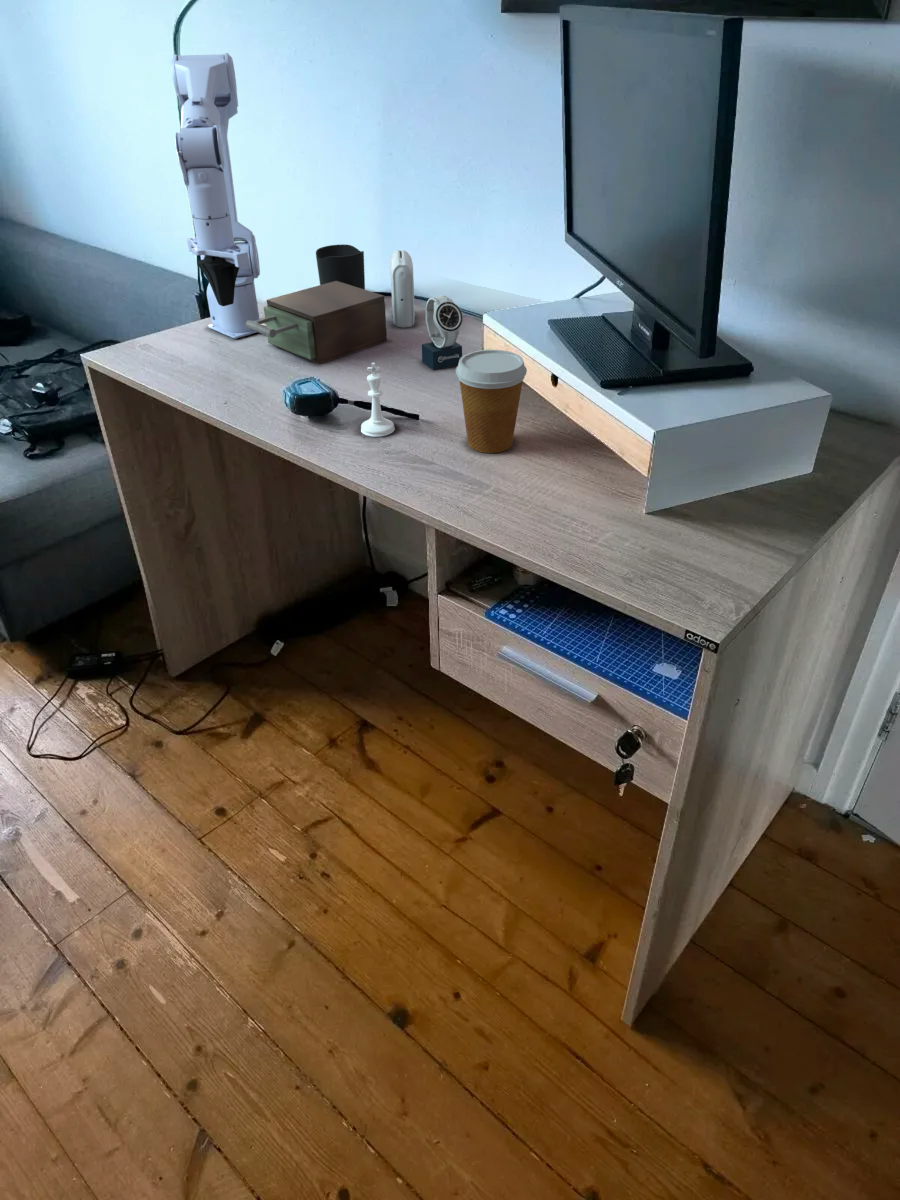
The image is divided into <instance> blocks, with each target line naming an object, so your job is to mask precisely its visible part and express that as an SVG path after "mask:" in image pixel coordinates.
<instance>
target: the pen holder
mask: <svg viewBox="0 0 900 1200" xmlns="http://www.w3.org/2000/svg"><path fill="white" fill-rule="evenodd" d="M315 258H316V265H317V266H316V267H317V273H318V279H319V285H323V284H326V283H330V282H334V281H339V282H342V283H345V284H348V285H351V286H355V287H358V288H361V289H364V290H366V278H365V252H364V250H362V251H361V250H359V249H358V248H357V247H355V246H354V245H351V244H343V243H342V244H330V245H326V246H325V245H324V246H322V247H320V248H317V249H316V251H315Z"/></svg>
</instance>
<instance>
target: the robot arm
mask: <svg viewBox="0 0 900 1200" xmlns="http://www.w3.org/2000/svg"><path fill="white" fill-rule="evenodd" d="M170 69H171V76H172V77H171V78H172V81H173V86H174V90H175V94H176V95H177V98H178V101H179V106H180V107H181V116H180V117H181V119H180V129H179V130H180V131H179V132H175V134H174V142H175V143H174V144H175V145H174V146H175V152H176V156H177V160H178V164H179V166H180V170H181V173H182V178H183V182H184V185H185V186H186V187H187V194H188V199H189V205H190V211H191V217H192V222H193V227H194V234H195V236H193V237H190V238H186V241H187V247H188V252H191V253H192V254H193V255H195V256H200V260H197V261H196V263H197V267H199V269H200V270H201V272H202V273H203V276H204V277H205V279H206V280H207V281H208V285H207V287H206V299H207V304H208V310H209V315H210V321H211V323H210V324H208V325H207V327H208V329H211V330H213V331H215V332H218V333H220V334H223V335H225V336H227V337H229V338H231V339H239V338H244V337H246V336H250V335H254V334H256V333H258V332H256V331H254V330H251V329H249V328H247V327H246V322H247V321H248V320H252V321H257V320H260V313H259V305H258V300H257V299H258V298H257V292H256V285H255V279H258V278H259V276H260V275H261V269H260V268H261V267H260V266H261V265H260V258H259V252H258V251H259V250H258V246H257V241H256V236H255V234H254V232H253V231H252V230H251V229H250V228H248V227H247V226H245V225H244V224H243V223H241V222H239V219H238V211H237V204H236V194H235V188H234V179H233V172H232V163H231V153H230V146H229V138H228V137H229V136H228V132H229V131H228V130H229V123H230V122H229V121H230V119H231V118H233V117H234V116H236V115H237V114H238V107H239V101H238V88H237V79H236V71H235V64H234V61H233V57H232V56H231V55H230V54H229V53H228V52H225V53H224V54H189V55H188V54H186V55H185V54H184V55H178V54H173V55H172V57H171V58H170ZM262 325H264V326H266V323H263V324H262Z"/></svg>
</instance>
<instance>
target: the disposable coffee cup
mask: <svg viewBox="0 0 900 1200" xmlns="http://www.w3.org/2000/svg"><path fill="white" fill-rule="evenodd" d="M527 373H528V369H527V367H526V366H525V361H524V359H523V357H522V355H521V356H520V355H519V354H518V353H515V352H513V351H509V350H502V349H480V350H474V351H469V352H468V353H465V354H464V355H462V357H461V358H460V360H459V364H458V365H456V368H455V374H456V377H457V379H458V380H459V386H460V387H459V388H460V394H461V402H462V403H461V404H462V410H463V415H464V417H463V419H464V424H465V432H466V439H467V445H468V447H469V448H470V449H471V450H473V451H476V452H479V453H483V454H484V453H485V454H495V453H501V452H505V451H506V450H509V449H510V448H511V447H512V446H513V441H514V437H515V436H514V435H515V429H516V423H517V418H518V417H517V416H518V412H519V406H520V405H519V404H520V399H521V394H522V387H523V381H524V379H525V376H526V375H527Z"/></svg>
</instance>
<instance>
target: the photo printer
mask: <svg viewBox="0 0 900 1200" xmlns="http://www.w3.org/2000/svg"><path fill="white" fill-rule="evenodd" d="M412 259H413V258H412V257H411V255H410V253H409V252H408V251H406V250H405V249H402V250H399V249H397V250H395V251H394V252H393V253H392V254H391V256H390V258H389V273H390V274H389V275H390V288H391V290H390V291H391V311H392V312H391V313H392V321H393V325H394V326H395V327H397V328H411V327H412V326H414V325H415V320H416V319H415V318H416V313H415V311H416V309H415V282H414V279H415V278H414V263H413V260H412Z"/></svg>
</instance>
